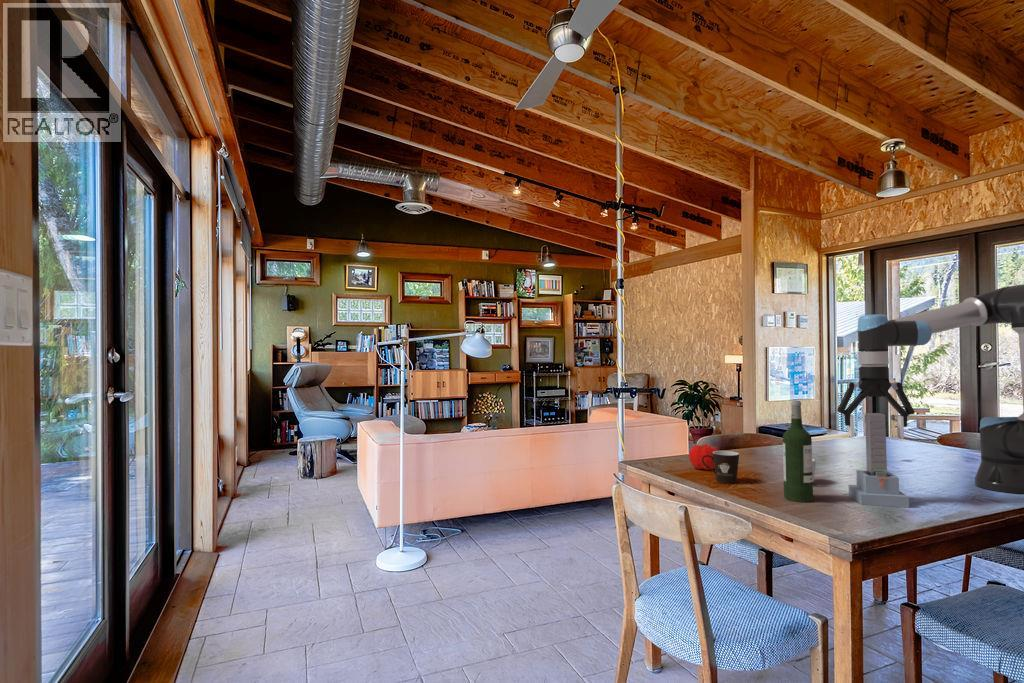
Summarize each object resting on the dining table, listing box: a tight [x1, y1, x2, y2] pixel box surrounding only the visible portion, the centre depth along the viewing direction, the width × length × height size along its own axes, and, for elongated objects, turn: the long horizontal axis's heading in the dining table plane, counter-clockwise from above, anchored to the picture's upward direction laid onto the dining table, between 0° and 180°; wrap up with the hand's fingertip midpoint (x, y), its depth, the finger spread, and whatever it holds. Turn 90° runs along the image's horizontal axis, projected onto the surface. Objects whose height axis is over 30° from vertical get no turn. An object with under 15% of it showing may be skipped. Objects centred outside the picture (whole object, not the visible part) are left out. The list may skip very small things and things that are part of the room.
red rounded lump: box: [688, 443, 720, 471], centre depth 208 cm, size 11×12×9 cm
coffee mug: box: [702, 450, 740, 485], centre depth 188 cm, size 12×9×10 cm
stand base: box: [847, 469, 910, 508], centre depth 161 cm, size 12×12×9 cm
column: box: [864, 412, 888, 476], centre depth 161 cm, size 4×5×20 cm
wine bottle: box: [782, 399, 814, 503], centre depth 164 cm, size 8×8×30 cm
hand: (875, 437), depth 161 cm, fingers open, 12 cm apart
